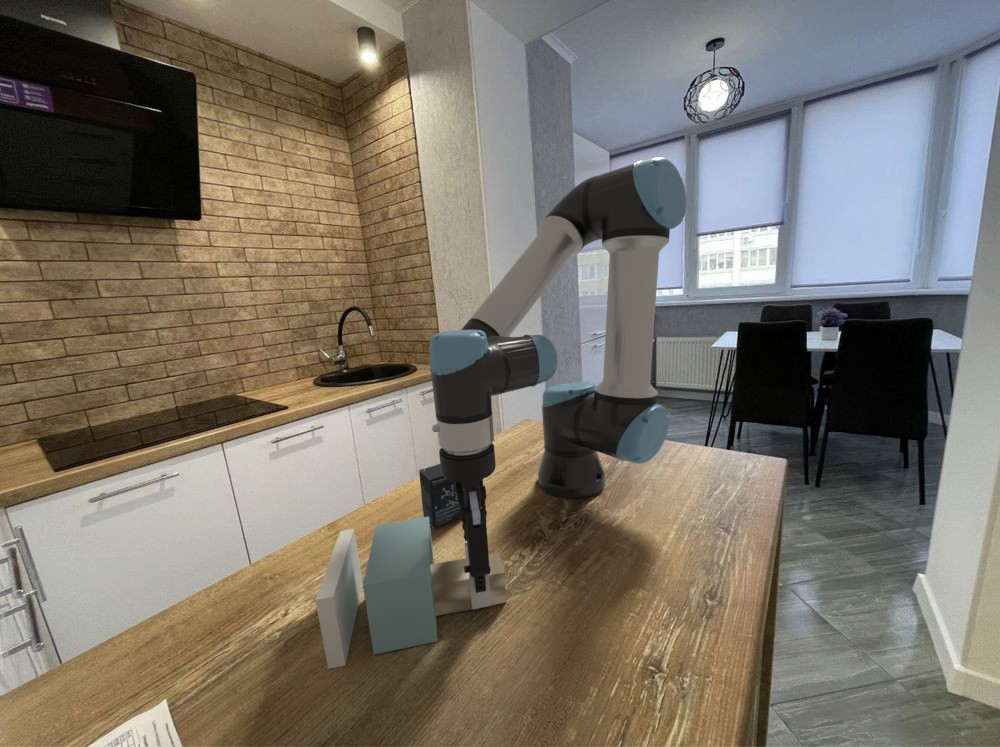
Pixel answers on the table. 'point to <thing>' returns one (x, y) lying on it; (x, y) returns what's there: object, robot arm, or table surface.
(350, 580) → the wall
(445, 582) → the rectangular bar
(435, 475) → the box
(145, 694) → the table surface
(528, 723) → the table surface
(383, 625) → the block
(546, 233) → the robot arm
